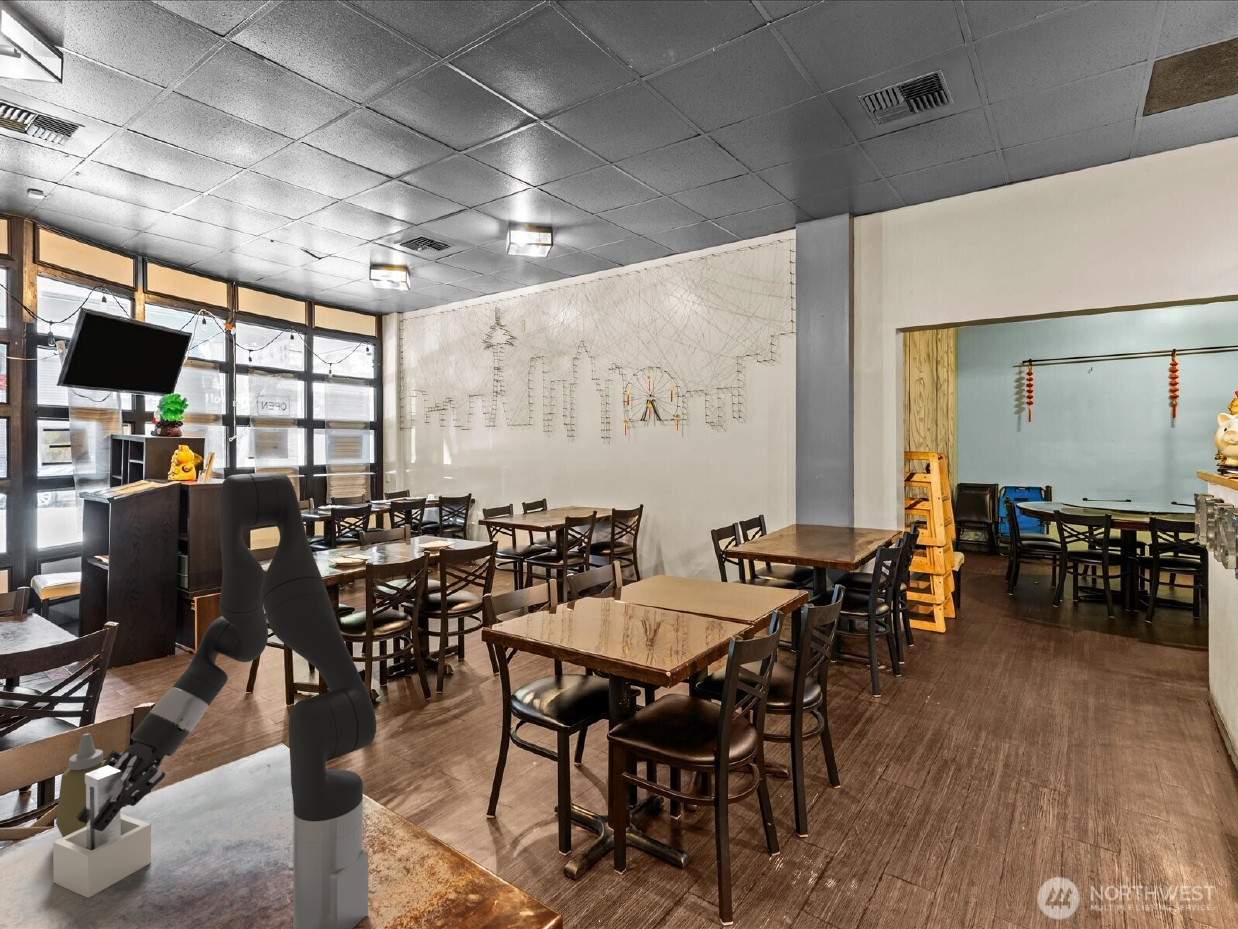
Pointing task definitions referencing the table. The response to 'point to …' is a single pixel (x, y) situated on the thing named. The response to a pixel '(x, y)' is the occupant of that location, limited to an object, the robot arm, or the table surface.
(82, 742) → the squeeze bottle
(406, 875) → the table surface
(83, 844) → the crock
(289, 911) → the table surface
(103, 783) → the grey arch block
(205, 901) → the table surface
